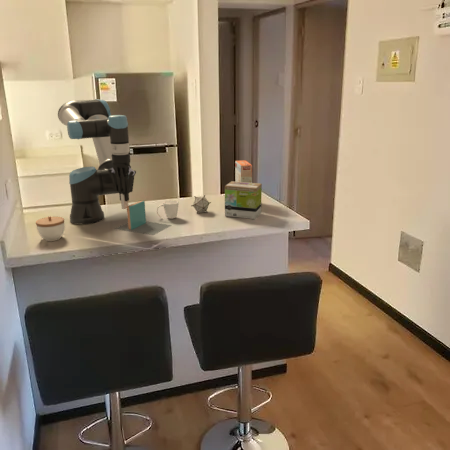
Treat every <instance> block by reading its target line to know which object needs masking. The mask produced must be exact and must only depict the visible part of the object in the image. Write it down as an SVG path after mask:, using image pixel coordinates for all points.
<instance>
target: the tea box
mask: <svg viewBox="0 0 450 450" xmlns="http://www.w3.org/2000/svg"><path fill="white" fill-rule="evenodd" d="M262 186H263V184H262V183H259V182H252V183H247V182H235V181H232V180H231V181H230V182H229V183H227V184H225V185H224V216H225V217H234V218H240V219H241V218H242V219H249V220H250V219H251V220H257V218H258V217H260V215H261V214H262V195H263V194H262V193H263V192H262V189H263V188H262Z"/></svg>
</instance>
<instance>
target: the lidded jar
mask: <svg viewBox="0 0 450 450" xmlns="http://www.w3.org/2000/svg"><path fill="white" fill-rule="evenodd" d="M35 226H36V230H37V233H38V234H39V236H40V237H41V239H44V241H46V242H54V241H58V240H60V239H61V237H62V236H63V234H64V233H65V228H66V227H65V226H66V225H65V219H64V217H63V216H51V215H49V216H47V217H42V218H39V219H37V220H36V221H35Z"/></svg>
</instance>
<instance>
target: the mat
mask: <svg viewBox="0 0 450 450" xmlns="http://www.w3.org/2000/svg"><path fill="white" fill-rule="evenodd" d="M170 227H172V225H171V224H166V223H159V222H154V221H147V220H146V223H145V224H143V225H141V226H139V227H137V228H135V229H133V230H131V229H129V228H128V222H126V223H123V224H122V225H118V227H114V230H119V231H124V232H125V231H126V232H132V233H138V234H143V235H144V234H145V235H151V236H154V235H156V234H158V233H160V232H162V231H164V230H167V228H170Z"/></svg>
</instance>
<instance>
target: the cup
mask: <svg viewBox="0 0 450 450" xmlns="http://www.w3.org/2000/svg"><path fill="white" fill-rule="evenodd" d="M179 204H180V203H179V201H178V200H173V199H172V200H171V199H170V200H165V201H163V203H162V204H159V205H158V206H157V207H156V214H157V216H158V217H159V218H160V219H162V220H165V218H164V217H162V216H161V215H159V213H158V212H159V211H158V210H159V208H160V207H163V209H164V214H165V217H166V218H167V219H171V220H172V219H177V217H178V211H179Z"/></svg>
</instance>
